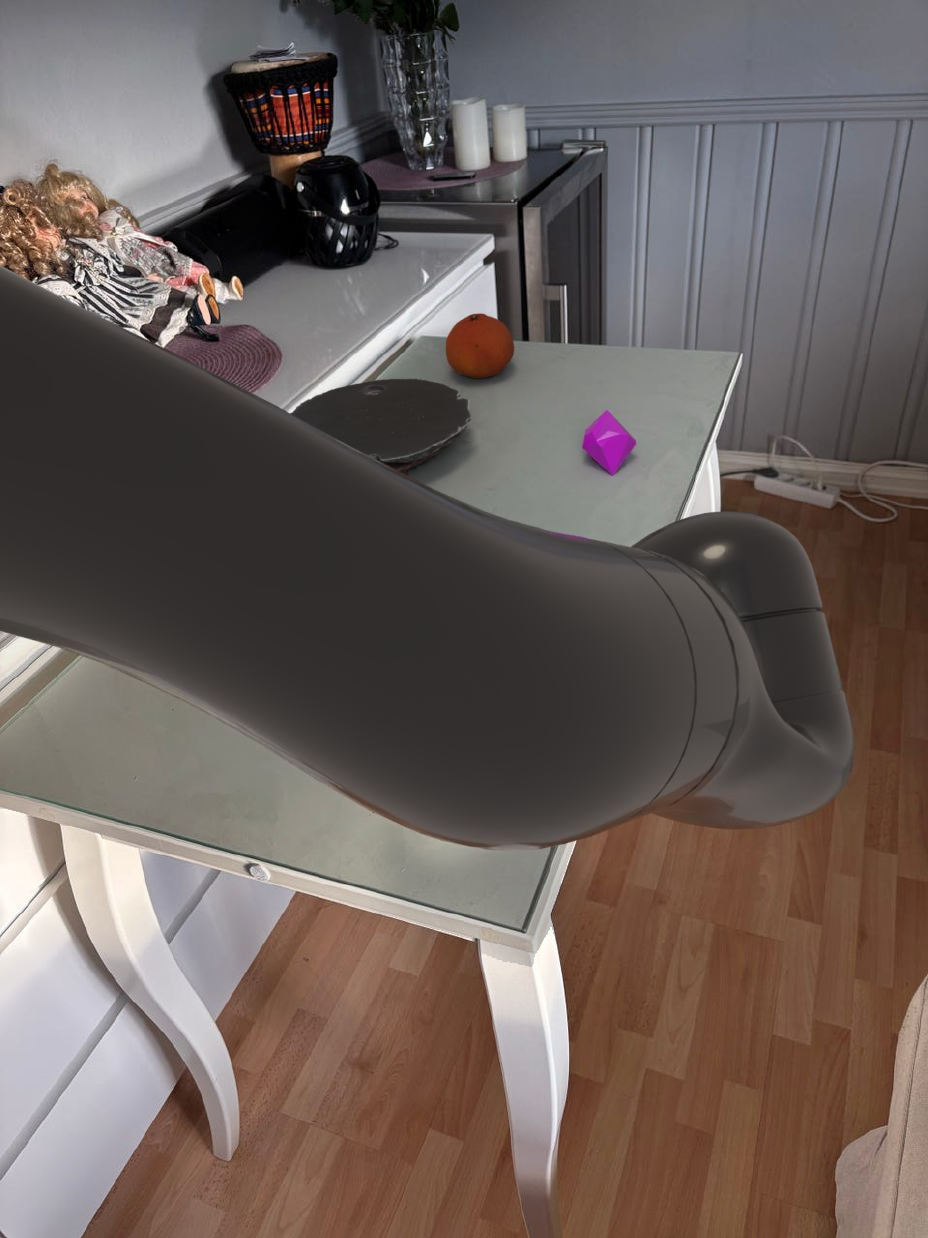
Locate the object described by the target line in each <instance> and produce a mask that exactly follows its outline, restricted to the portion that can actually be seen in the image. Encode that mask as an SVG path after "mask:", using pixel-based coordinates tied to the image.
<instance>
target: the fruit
mask: <svg viewBox="0 0 928 1238" xmlns="http://www.w3.org/2000/svg"><path fill="white" fill-rule="evenodd" d="M514 353H515V342H514V339H513V336H512V333H511V331H510V330H509V328H508V327H507V326H506V324H504V323H503V322H502V321H500V320H499V319H498V318H495V317H493V316H491V315H490V316H489V315H487V314H485V313H483V312H482V313H481V312H480V313H470V314H469V315H467V316H466V317H464V318H462V319H460V320H459V321H457V322H456V323H455V324H454V325H453V326H452V328H451V330H450V331H449V333H448V334H447V337H446V340H445V355H446V360H447V362H448V365H449V367H450V368H451V369H452V370H453V371H454V372H455V373H457V374H459V375H461V376H464V377H468V378H472V379H484V378H491V377H494V376H495V375H497V374H499V373H500V372H502V371H503V370H504V369H505V368H506V367H507V366H508V365H509V364H510V362H511V361H512V360H513V357H514Z"/></svg>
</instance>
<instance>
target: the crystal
mask: <svg viewBox="0 0 928 1238" xmlns="http://www.w3.org/2000/svg"><path fill="white" fill-rule="evenodd" d="M636 445H637V440H636V439H635V437H634V436H633V435H632V434H631V433H630V432H629V431H628V430H627V429H626V428H625V427H624V426H623V425H622V424H621V422H619V420H617V418H615V416H613V414H612V413H611V412H610V411H609V410H608V409H606V410H605V411H603V413H601V415H599V417H597V418H596V419H595V420H594V421H593V422H592V423H591V424H589V426H587V428H586V429H585V432H584V436H583V440H582V446H581V449H582V450H584V451H585V452H586V453H587V454H588V455H589V456H590V457H591V458H592V459H593V460H595V461H596V462H597V463H598V464H599V465H600V466H601V467H602V468H604V469H605V470H606V471H607V472H608V474H610V475H611V476H614V475H615V473H616V472H617V471H618V469H619V468H620V467H621V466H622V464H623V463H624V461H625V460H626V458H627V457H628V456H629V455H630V453H631V452H632V451H633V450H634V448H635V447H636Z"/></svg>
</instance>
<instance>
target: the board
mask: <svg viewBox="0 0 928 1238" xmlns="http://www.w3.org/2000/svg"><path fill="white" fill-rule="evenodd" d="M469 407H470V400H469V398H466V397H460V389H457V388H453V387H451V386H450V385H447V384H444V383H443V382H439V381H436V380H433V381H432V380H429V379H422V378H417V377H415V378H387V379H386V378H385V379H376V380H371V381H370V380H369V381H364V382H361V383H353V384H348V385H345V386H339V387H336V388H332V389H329V390H327V391H325V392H322V393H320V394H316V395H314V396H312V397H311V398H309V399H306V400H304V401H302V402H300V403H299V405H297V406H296V407H295V409H294V410H293V411H292V412H289V413H290V414H292V415H294V416H296V417H297V418H299V419H301V420H303V421H305V422H306V423H308V424H310V425H312V426H314V427H316V428H317V429H319V430H321V431H323V432H325V433H326V434H328V435H330V436H332V437H334V438H335V439H337V440H339V441H341V442H343V443H345V444H347V445H349V446H351V447H352V448H354V449H356V450H358V451H360V452H362V453H364V454H366V455H368V456H370V457H372V458H374V459H376V460H378V461H380V462H382V463H384V464H386V465H388V466H390V467H392V468H394V469H396V470H398V471H399V472H401V473H403V474H405V475H407V473H408V472H409V470H413V469H415V468H417V467H419V466H421V465H423V464H424V463H425V462H426V461H428V459H430V458H432V457H433V456H435V455H437V454H438V453H439V451H440V449H441V448H444V447H447V446H450V445H451V444H452V443H453V441H454V440H456V439H457V438H458V437H460V436H461V435H462V434H463V433H464V432H465V431H466V429H467V427H468V425H469V423H470V421H471V419H472V418H473V416H472V412H471V411H470V408H469Z"/></svg>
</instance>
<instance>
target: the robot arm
mask: <svg viewBox="0 0 928 1238" xmlns="http://www.w3.org/2000/svg"><path fill="white" fill-rule="evenodd" d="M290 413H291V412H289V411H287V410H286V409H285V410H284V409H283V408H281V407H279V406H278V405H276V404H275V403H274V404H273V403H272V402H270V401H268V400H267V399H264V398H262V397H260V396H258V395H256V394H254V393H252V392H250V391H249V390H246V389H245V388H243V387H241V386H240V385H237V384H236V383H233V382H231V381H229V380H227V379H226V378H223V377H222V376H219V375H218V374H216V373H214V372H212V371H210V370H208V369H206V368H204V367H202V366H200V365H199V364H196V363H195V362H193V361H191V360H189V359H187V358H185V357H183V356H181V355H179V354H177V353H175V352H173V351H170V350H168V349H166V348H165V347H163V346H161V345H158V344H157V343H154V342H152V341H151V340H149V339H146V338H144V337H142V336H141V335H138V334H137V333H135V332H132V331H131V330H129V329H126V328H125V327H123V326H120V325H118V324H117V323H114V322H112V321H110V320H109V319H107V318H104V317H102V316H100V315H98V314H96V313H95V312H92V311H90V310H89V309H86V308H84V307H82V306H80V305H78V304H77V303H74V302H72V301H70V300H69V299H66V298H64V297H63V296H61V295H58V294H57V293H55V292H53V291H52V290H49V289H47V288H45V287H44V286H41V285H39V284H38V283H35V282H33V281H32V280H29V279H27V278H26V277H24V276H21V275H20V274H18V273H16V272H14V271H12V270H10V269H8V268H6V267H4V266H3V265H0V632H1V633H6V634H9V635H13V636H16V637H19V638H24V639H26V640H31V641H34V642H38V643H42V644H45V645H49V646H52V647H56V648H58V649H61V650H65V651H66V652H71V653H73V654H76V655H79V656H81V657H84V658H87V659H90V660H92V661H95V662H97V663H100V664H103V665H105V666H107V667H109V668H111V669H114V670H116V671H118V672H119V673H123V674H125V675H127V676H129V677H131V678H134V679H136V680H139V681H140V682H143V683H145V684H146V685H148V686H151V687H153V688H155V689H157V690H160V691H161V692H164V693H165V694H168V695H170V696H172V697H174V698H176V699H178V700H181V701H183V702H185V703H186V704H189V705H191V706H192V707H194V708H196V709H198V710H200V711H201V712H204V713H205V714H207V715H209V716H211V717H213V718H214V719H216V720H218V721H220V722H221V723H223V724H225V725H226V726H228V727H230V728H232V729H233V730H235V731H237V732H239V733H240V734H242V735H244V736H245V737H247V738H249V739H251V740H252V741H254V742H256V743H257V744H259V745H260V746H262V747H264V748H266V749H267V750H269V751H271V752H272V753H274V755H277V756H278V757H279V758H281V759H283V760H285V761H287V762H288V763H289V764H291V765H293V767H295V768H297V769H299V770H300V771H302V772H303V773H305V774H307V775H309V776H310V777H312V778H313V779H315V780H316V781H318V782H319V783H321V784H323V785H325V786H326V787H328V788H330V789H331V790H333V791H335V792H337V793H338V794H340V795H342V796H343V797H346V798H347V799H348V800H350V801H352V802H354V803H355V804H357V805H359V806H361V807H362V808H364V809H366V810H368V811H369V812H372V814H376V815H379V816H381V817H382V818H385V819H386V820H389V821H392V822H393V823H396V824H397V825H400V826H403V827H405V828H407V829H409V830H411V831H412V832H416V833H417V834H420V835H423V836H426V837H429V838H433V839H435V840H439V841H442V842H446V843H450V844H454V845H455V844H456V845H460V846H465V847H469V848H475V849H482V850H488V851H523V850H527V851H528V850H544V849H548V848H549V849H550V848H554V847H557V846H562V845H566V844H569V843H573V842H577V841H580V840H583V839H587V838H591V837H593V836H596V835H598V834H600V833H603V832H607V831H608V830H611V829H614V828H616V827H619V826H621V825H624V824H626V823H630V822H632V821H634V820H638V819H640V818H643V817H646V816H649V815H650V814H651V815H654V816H658V817H660V818H664V819H666V820H670V821H674V822H677V823H682V824H686V825H691V826H696V827H704V828H710V829H718V830H719V829H720V830H754V829H755V830H756V829H764V828H771V827H772V828H773V827H777V826H781V825H785V824H790V823H793V822H797V821H799V820H801V819H804V818H806V817H809V816H811V815H813V814H815V813H817V812H818V811H820V810H821V809H823V808H824V807H825V806H827V805H828V804H830V803H832V801H834V800H835V798H836V797H837V796H838V795H840V793H841V792H842V790H843V789H844V788H845V786H846V784H847V782H848V780H849V779H850V775H851V772H852V769H853V765H854V760H855V759H854V758H855V751H856V746H855V734H854V727H853V720H852V716H851V712H850V708H849V704H848V701H847V695H846V692H845V690H843V689H844V685H843V681H842V677H841V673H840V669H839V665H838V660H837V656H836V653H835V649H834V645H833V641H832V638H831V634H830V633H831V632H830V630H829V629H830V628H829V626H828V625H829V624H828V622H827V617H826V613H825V612H823V611H822V610H824V603H823V601H822V596H821V592H820V589H819V588H820V587H819V585H818V581H817V578H816V573H815V569H814V567H813V564H812V562H811V560H810V557H809V555H808V553H807V550H806V549H805V548H804V546H803V545H802V543H801V541H799V538H797V536H795V535H794V534H793V533H791V532H790V531H789V530H788V529H786V528H785V527H784V526H782V525H780V524H779V523H777V522H775V521H773V520H771V519H770V518H767V517H764V516H760V515H757V514H755V513H754V514H753V513H750V512H746V511H735V510H734V511H733V510H723V511H710V512H703V513H698V514H694V515H690V516H687V517H684V518H680V519H678V520H676V521H673V522H671V523H669V524H667V525H664V526H662V527H660V528H658V529H656V530H654V531H653V532H651V533H649V534H647V535H646V536H644V537H643V538H641V539H640V540H638V541H637V542H635V543H634V544H632V545H631V546H628V545H623V544H619V543H613V542H608V541H603V540H598V539H592V538H589V537H584V536H580V535H574V534H567V533H562V532H556V531H551V530H548V529H545V528H540V527H536V526H533V525H529V524H526V523H522V522H519V521H516V520H512V519H507V518H505V517H502V516H499V515H496V514H493V513H490V512H488V511H485V510H483V509H480V508H478V507H476V506H473V505H472V504H469V503H467V502H464V501H462V500H459V499H458V498H454V497H452V496H450V495H448V494H445V493H443V492H441V491H438V490H437V489H435V488H432V487H431V486H428V485H427V484H425V483H423V482H421V481H419V480H417V479H415V478H413V477H411V476H409V475H407V474H403V473H401V472H399V471H398V470H396V469H394V468H392V467H390V466H388V465H386V464H384V463H382V462H380V461H378V460H376V459H374V458H372V457H370V456H368V455H366V454H364V453H362V452H360V451H358V450H356V449H354V448H352V447H351V446H349V445H347V444H345V443H343V442H341V441H339V440H337V439H335V438H334V437H332V436H330V435H328V434H326V433H325V432H323V431H321V430H319V429H317V428H316V427H314V426H312V425H310V424H308V423H306V422H305V421H303V420H301V419H299V418H297V417H296V416H294V415H292V414H290Z"/></svg>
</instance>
